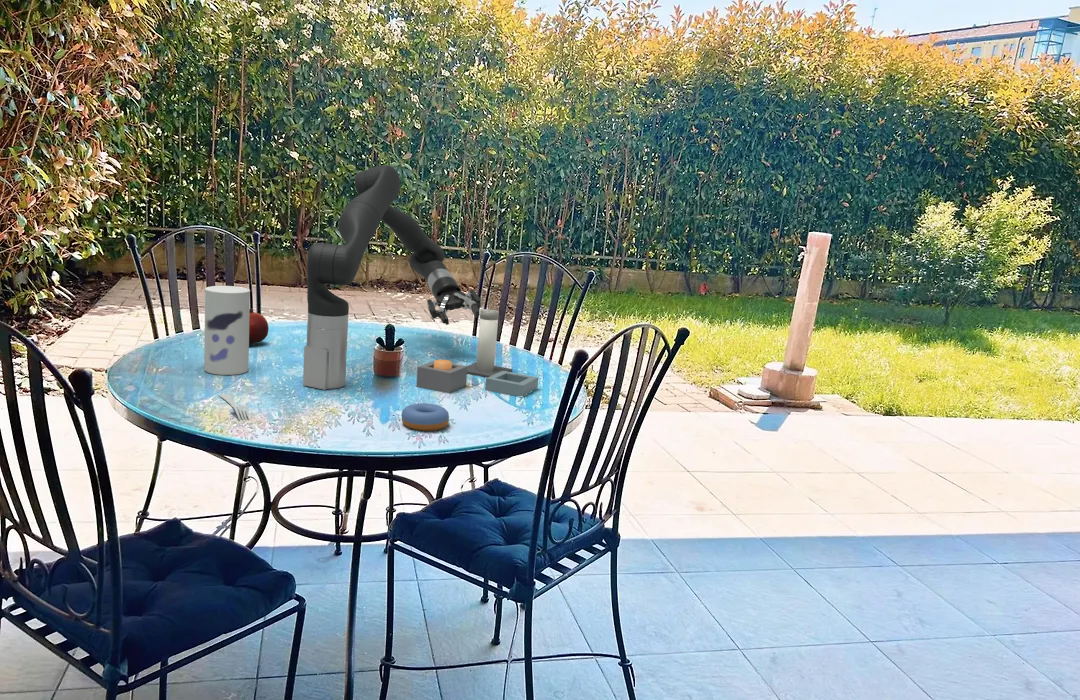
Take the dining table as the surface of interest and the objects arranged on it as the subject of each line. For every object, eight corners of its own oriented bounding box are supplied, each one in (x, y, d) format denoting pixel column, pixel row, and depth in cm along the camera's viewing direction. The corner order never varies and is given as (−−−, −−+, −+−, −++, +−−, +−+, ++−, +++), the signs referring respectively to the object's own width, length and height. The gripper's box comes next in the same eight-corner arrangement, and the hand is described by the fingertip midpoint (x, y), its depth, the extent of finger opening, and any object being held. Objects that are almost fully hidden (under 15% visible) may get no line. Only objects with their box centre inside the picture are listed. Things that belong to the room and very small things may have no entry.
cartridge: (489, 372, 222) (494, 313, 218) (472, 369, 224) (477, 310, 220) (497, 369, 226) (501, 311, 223) (480, 366, 228) (485, 308, 225)
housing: (522, 397, 203) (523, 385, 203) (484, 390, 207) (485, 378, 206) (537, 388, 212) (538, 377, 212) (501, 381, 216) (502, 370, 215)
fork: (229, 405, 185) (229, 392, 185) (253, 423, 167) (253, 409, 167) (216, 406, 183) (216, 393, 183) (238, 424, 166) (238, 410, 166)
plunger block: (449, 393, 201) (450, 373, 200) (416, 386, 204) (417, 366, 203) (466, 385, 209) (467, 366, 208) (434, 379, 212) (435, 360, 211)
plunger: (445, 387, 204) (446, 364, 202) (429, 384, 205) (430, 361, 204) (453, 384, 208) (455, 361, 206) (438, 381, 209) (439, 358, 208)
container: (205, 375, 196) (206, 291, 192) (203, 365, 205) (203, 284, 201) (250, 375, 200) (251, 292, 196) (246, 364, 209) (247, 285, 205)
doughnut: (390, 424, 173) (394, 403, 172) (416, 416, 182) (419, 396, 181) (431, 439, 169) (435, 417, 168) (455, 429, 178) (459, 409, 178)
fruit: (224, 347, 225) (224, 310, 223) (229, 339, 234) (230, 304, 232) (266, 349, 227) (266, 312, 225) (269, 341, 236) (270, 306, 234)
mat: (495, 379, 218) (495, 376, 218) (457, 371, 222) (457, 369, 222) (512, 371, 228) (512, 369, 228) (475, 364, 232) (475, 362, 232)
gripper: (418, 281, 234) (436, 313, 223) (466, 270, 239) (486, 301, 227) (420, 303, 239) (438, 335, 227) (468, 292, 243) (487, 323, 232)
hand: (462, 318), depth 227 cm, fingers open, 8 cm apart
